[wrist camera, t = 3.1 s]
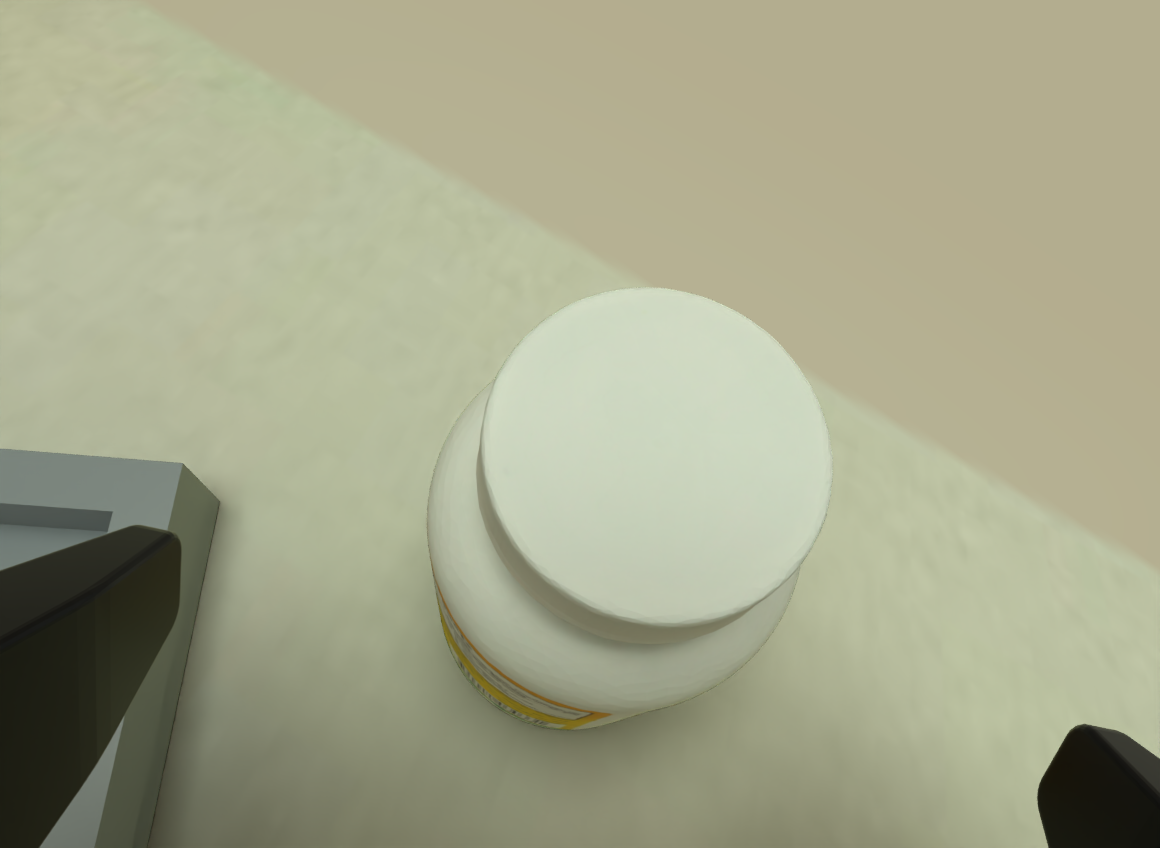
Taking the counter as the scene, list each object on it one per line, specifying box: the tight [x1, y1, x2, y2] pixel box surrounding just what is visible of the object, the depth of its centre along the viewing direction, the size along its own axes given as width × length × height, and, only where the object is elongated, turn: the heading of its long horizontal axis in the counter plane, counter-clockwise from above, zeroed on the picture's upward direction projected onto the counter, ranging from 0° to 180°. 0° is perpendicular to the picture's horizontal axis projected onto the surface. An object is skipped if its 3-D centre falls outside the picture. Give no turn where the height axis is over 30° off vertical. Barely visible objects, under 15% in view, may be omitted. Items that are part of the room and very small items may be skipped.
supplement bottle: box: [427, 287, 833, 730], centre depth 14 cm, size 5×5×10 cm
